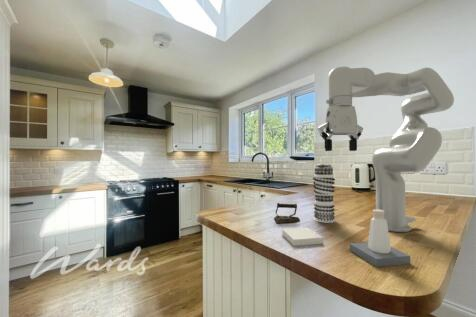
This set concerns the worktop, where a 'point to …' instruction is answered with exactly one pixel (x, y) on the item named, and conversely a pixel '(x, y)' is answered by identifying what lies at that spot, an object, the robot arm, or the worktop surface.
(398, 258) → the plate
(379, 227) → the salt shaker
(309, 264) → the worktop surface
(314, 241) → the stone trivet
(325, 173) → the decorative candle
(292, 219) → the clothes iron
